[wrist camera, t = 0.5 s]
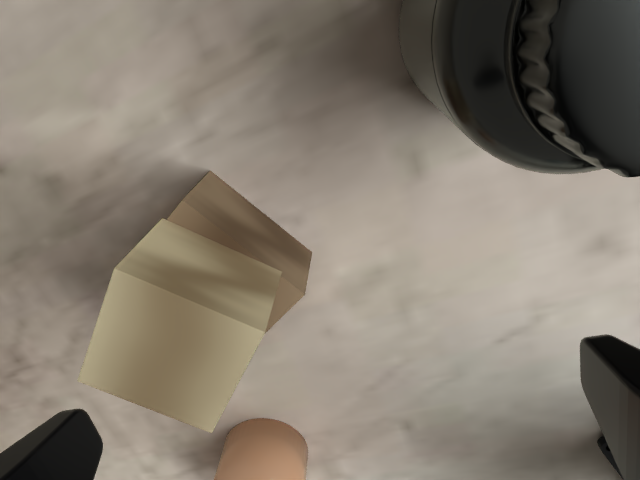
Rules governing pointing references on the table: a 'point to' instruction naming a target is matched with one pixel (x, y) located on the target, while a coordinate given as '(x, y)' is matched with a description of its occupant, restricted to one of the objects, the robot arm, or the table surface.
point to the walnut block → (246, 236)
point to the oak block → (180, 325)
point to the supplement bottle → (533, 78)
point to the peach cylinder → (263, 452)
